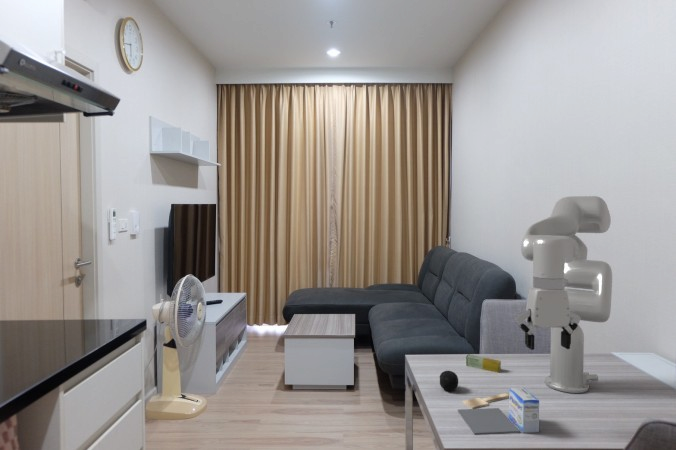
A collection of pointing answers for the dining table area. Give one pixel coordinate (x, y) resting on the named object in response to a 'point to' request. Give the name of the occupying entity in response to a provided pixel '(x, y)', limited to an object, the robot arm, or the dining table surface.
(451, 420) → the dining table surface
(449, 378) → the billiard ball
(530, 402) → the medicine box
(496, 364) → the medication box
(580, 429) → the dining table surface
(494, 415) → the mat
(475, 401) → the wooden turner
